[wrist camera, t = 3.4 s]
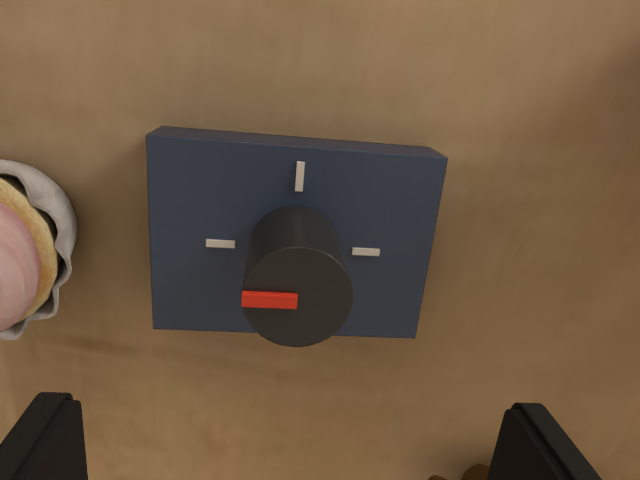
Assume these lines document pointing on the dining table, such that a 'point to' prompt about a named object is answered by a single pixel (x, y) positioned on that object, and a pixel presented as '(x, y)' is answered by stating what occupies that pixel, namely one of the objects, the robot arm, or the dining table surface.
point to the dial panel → (279, 191)
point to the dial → (296, 278)
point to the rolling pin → (470, 473)
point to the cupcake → (32, 246)
